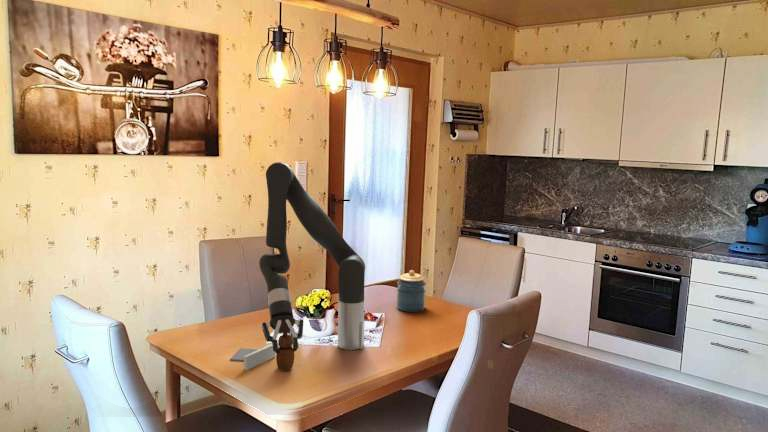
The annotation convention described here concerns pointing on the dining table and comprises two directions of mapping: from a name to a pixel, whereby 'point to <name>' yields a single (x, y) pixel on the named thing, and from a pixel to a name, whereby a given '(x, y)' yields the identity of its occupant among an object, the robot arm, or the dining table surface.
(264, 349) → the frosted wall
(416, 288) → the canister
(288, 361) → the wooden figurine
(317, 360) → the dining table surface
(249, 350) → the slate coaster
